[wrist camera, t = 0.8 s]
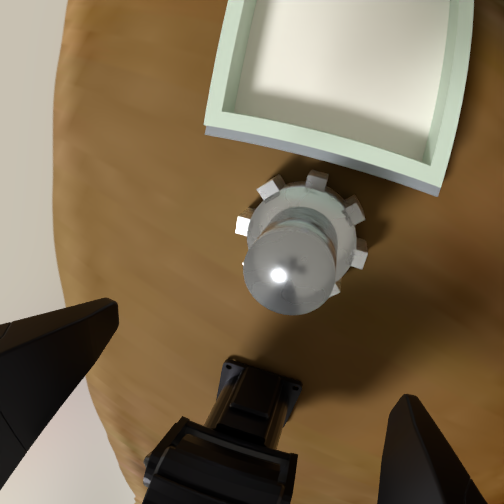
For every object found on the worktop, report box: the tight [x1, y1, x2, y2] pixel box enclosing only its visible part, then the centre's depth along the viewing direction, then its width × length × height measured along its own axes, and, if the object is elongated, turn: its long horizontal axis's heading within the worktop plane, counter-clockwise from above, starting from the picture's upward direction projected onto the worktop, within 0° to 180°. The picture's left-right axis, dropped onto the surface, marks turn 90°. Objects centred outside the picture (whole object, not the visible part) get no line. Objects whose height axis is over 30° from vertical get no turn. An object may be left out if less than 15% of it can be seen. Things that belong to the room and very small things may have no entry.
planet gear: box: [235, 170, 368, 315], centre depth 16 cm, size 7×7×6 cm
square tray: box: [204, 0, 474, 197], centre depth 13 cm, size 13×13×4 cm
